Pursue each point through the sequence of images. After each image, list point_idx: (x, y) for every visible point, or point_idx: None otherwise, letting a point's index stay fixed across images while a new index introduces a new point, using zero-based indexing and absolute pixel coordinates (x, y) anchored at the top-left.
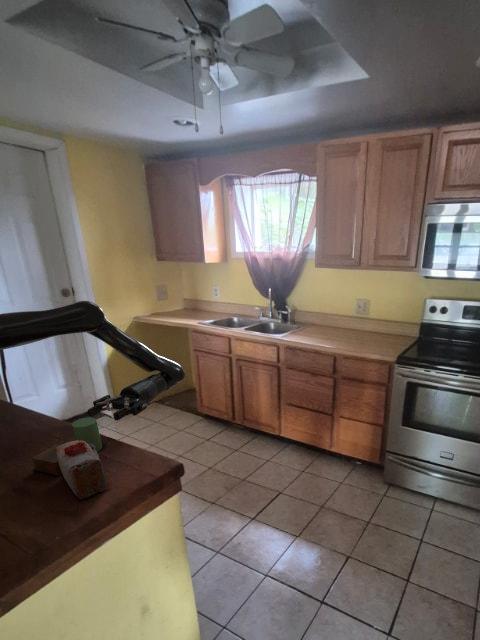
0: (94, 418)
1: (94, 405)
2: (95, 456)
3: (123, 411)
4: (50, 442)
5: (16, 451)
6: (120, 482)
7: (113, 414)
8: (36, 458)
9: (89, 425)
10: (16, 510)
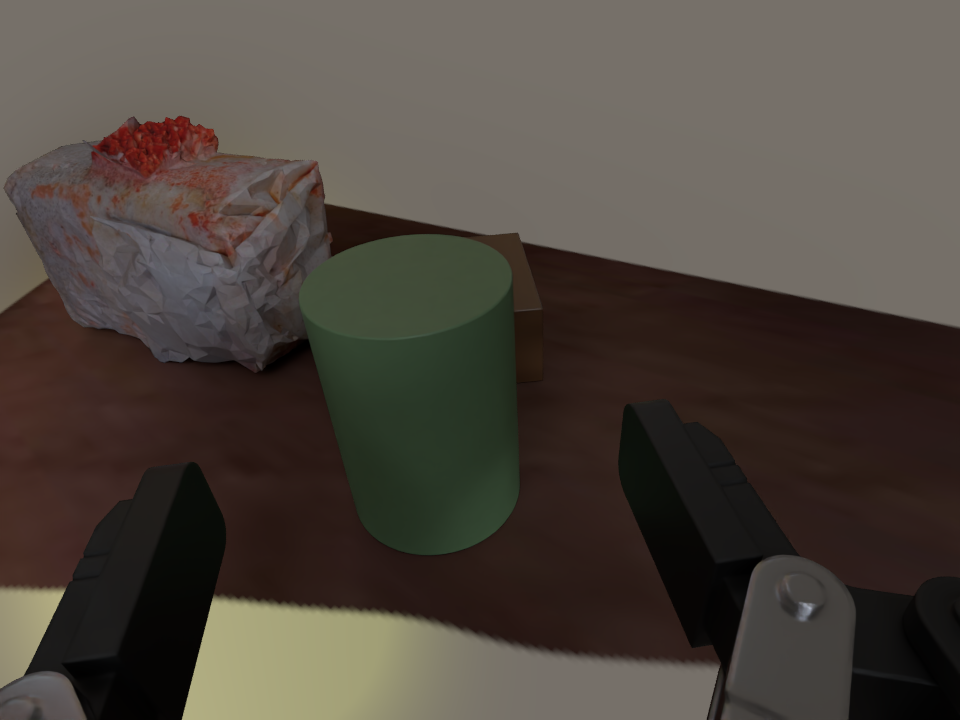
0: (367, 334)
1: (897, 612)
2: (36, 179)
3: (73, 604)
4: (800, 429)
5: (817, 322)
6: (35, 373)
7: (195, 463)
8: (492, 236)
9: (310, 274)
10: (351, 220)
